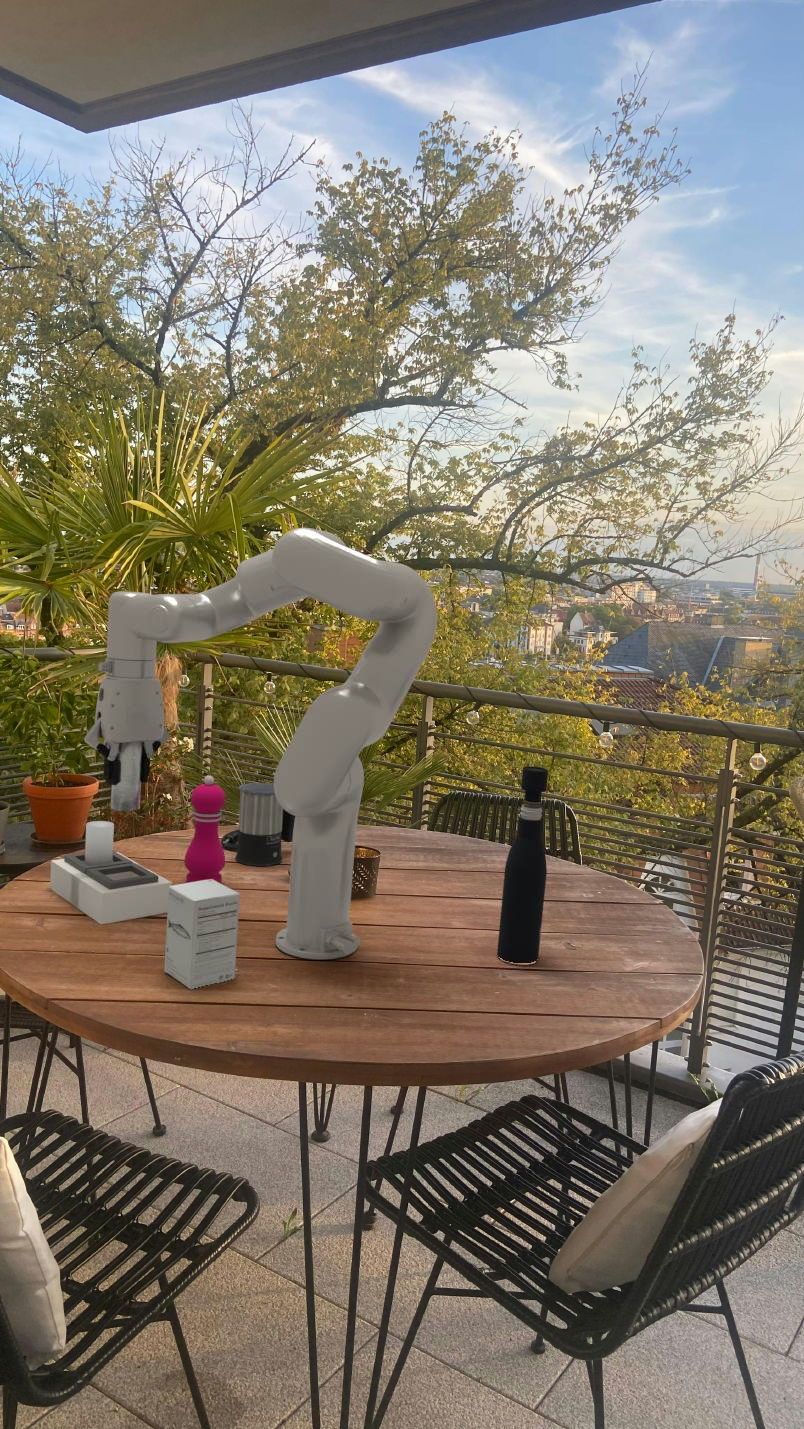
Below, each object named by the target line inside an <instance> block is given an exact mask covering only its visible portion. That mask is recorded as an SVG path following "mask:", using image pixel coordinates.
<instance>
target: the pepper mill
mask: <svg viewBox="0 0 804 1429" xmlns="http://www.w3.org/2000/svg"><path fill="white" fill-rule="evenodd" d="M214 783H215V779H214V777H213V776H212V775H207V776H205V777H204V779H203V784H200V785H198V786H196V787H195V788H194V789H193V790H192V793H191V796H190V803H191V805H192V807H194V810H193V812H192V813H193V816H192V819H193V820H194V821H195V822H194V824H195V828H194V835H193V838H192V840H191V842H190V844H189V846H188V848H187V850H186V852H185V856H184V860H183V862H184V863H183V864H184V866H185V868H186V869H187V870H188V873H187V874H186V880H185V883H190V882H196V881H202V880H209V879H213V880H215V881H217V882H219V883H220V884H222V882H223V881H222V879H223V875H222V874H221V873H220V872H221V871H222V870H223V869H224V867H225V865H226V855H225V854H226V853H225V851H224V847H223V846H222V844H221V839H220V837H219V836H220V835H219V822H220V821H221V820H222V814H223V812H222V811H220V810H221V809H222V808H223V807H224V805H225V803H226V793H225V791H224V790H223V789H222V787H220V786H219V785H217V784H214Z"/></svg>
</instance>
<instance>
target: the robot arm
mask: <svg viewBox="0 0 804 1429" xmlns="http://www.w3.org/2000/svg"><path fill="white" fill-rule="evenodd" d="M235 572H236V573H235V576H233V577H232V578H231V579H229V580H228V581H226V582H224V583H221V584H219V585H218V586H214V587H212V588H209V589H207V590H204V591H202V592H198V593H195V594H187V593H162V594H152V593H148V592H140V591H139V592H137V591H121V590H120V591H115V592H113V593H111V595H110V596H109V600H108V611H107V614H108V615H107V616H108V618H107V641H106V642H107V644H106V645H107V646H106V658H105V660H104V662H99V663H98V666H97V668H98V671H99V672H104V674H105V676H104V677H101V678H102V679H101V681H100V684H99V689H98V695H97V699H96V700H97V701H96V707H95V708H96V709H95V718H94V724H93V725H92V727H91V728H90V729H89V730H88V732H87V733H86V735H85V736H84V739H83V740H84V743H86V744H88V745H89V746H90V747H92V748H93V749H95V751H96V752H97V753H98V754H100V756H101V758H103V779H104V780H105V783H106V784H109V785H111V786H112V785H117V784H118V771H119V762H118V761H117V760H116V755H117V751H118V747H119V743H126V742H142V767H141V783H143V784H147V783H148V782H149V779H148V778H149V777H150V773H151V759H152V758H154V755H155V753H156V752H157V751H158V750H159V749H160V748H161V746H162V745H164V744H165V743H166V742H168V740H170V739H171V735H170V733H169V731H168V730H167V727H166V726H165V711H164V710H165V709H164V708H165V707H164V697H163V690H162V684H161V680H160V679H158V678H156V667H157V666H156V664H157V663H156V662H157V642H158V643H163V644H175V643H177V644H178V643H179V644H180V643H188V642H200V641H205V640H207V639H211V638H213V637H217V636H219V635H222V634H224V633H227V632H229V631H232V630H235V629H238V628H240V627H242V626H245V625H247V624H248V623H251V622H253V621H254V620H257V619H259V618H260V617H262V616H263V615H265V614H269V613H270V612H273V611H275V610H277V609H280V608H283V607H286V606H287V605H291V604H293V603H296V602H298V601H301V600H303V599H307V598H309V597H310V598H313V599H315V601H319V602H321V603H322V604H324V605H325V604H326V605H328V606H330V607H332V608H334V609H336V610H339V611H341V612H343V613H345V614H347V615H348V616H349V615H350V616H352V617H354V618H357V619H360V620H362V621H366V622H379V625H378V628H377V631H376V632H375V634H374V635H373V637H372V638H371V639H370V641H369V642H368V643H367V644H366V647H365V648H364V650H362V653H361V656H360V657H359V659H358V661H357V663H356V665H355V667H354V668H353V670H352V672H351V674H350V675H349V677H348V678H347V680H345V682H344V683H343V684H340V685H336V686H333V687H331V688H328V689H326V690H325V691H323V692H322V693H321V694H320V695H318V696H317V697H316V698H315V700H314V701H313V702H312V703H311V705H310V706H309V707H308V709H307V711H306V712H305V713H304V715H303V718H302V720H301V721H300V723H299V725H298V727H297V729H296V730H295V732H294V734H293V736H292V738H291V740H290V742H289V744H288V745H287V748H285V751H284V753H283V754H282V756H281V759H280V761H279V763H278V764H277V767H276V769H275V773H274V777H273V784H274V792H275V796H276V798H277V801H278V802H279V804H280V805H281V807H282V808H283V809H284V810H286V811H287V812H288V813H290V814H292V815H294V816H295V822H294V829H293V841H291V842H292V844H291V853H290V854H291V857H290V871H289V872H290V874H289V885H288V888H289V889H288V899H287V900H288V901H287V917H286V918H287V919H286V927H285V928H282V929H281V930H279V931H278V932H277V934H276V935H275V945H276V947H277V948H278V949H279V950H280V951H282V952H283V953H285V954H287V955H290V956H293V957H296V958H301V959H307V960H319V961H320V960H321V961H322V960H323V961H325V960H334V959H340V958H344V957H347V956H349V955H351V954H352V953H354V952H356V950H357V949H358V947H359V946H360V945H361V939H360V938H359V937H357V936H356V935H355V934H354V933H353V923H352V922H351V921H350V915H351V914H350V913H351V901H352V900H351V899H352V888H353V887H352V886H353V872H354V860H355V850H356V837H357V836H356V835H357V826H358V825H357V824H358V818H359V812H360V805H361V800H362V797H363V796H362V795H363V792H364V791H363V788H364V783H365V782H364V781H365V778H364V777H365V774H364V772H365V771H364V767H363V764H362V761H361V759H360V757H359V755H360V753H361V752H362V750H363V749H364V748H366V747H368V746H370V745H373V744H375V743H377V741H379V740H380V739H381V738H382V737H384V736H385V735H386V733H387V731H388V730H389V728H390V725H391V723H392V721H393V719H394V718H395V716H396V714H397V712H398V710H399V709H400V707H401V704H402V702H403V701H404V699H405V698H406V696H407V694H408V692H409V690H410V688H411V686H412V685H413V682H414V680H415V679H416V676H417V675H418V673H419V671H420V670H421V668H422V665H423V664H424V662H425V660H426V658H427V656H428V654H429V652H430V650H431V647H432V646H433V642H434V640H435V637H436V633H437V626H438V613H437V612H438V610H437V605H436V601H435V600H436V599H435V598H434V595H433V593H432V591H431V589H430V587H429V584H427V582H426V581H425V579H424V578H423V577H422V576H421V575H420V574H419V573H418V572H417V571H416V570H414V569H413V568H411V567H409V566H408V565H406V564H402V563H399V562H396V561H388V560H387V561H386V560H381V559H380V560H379V559H376V558H374V557H371V556H369V555H367V554H365V553H363V552H360V551H358V550H356V549H352V548H350V547H348V546H347V545H346V543H345V542H344V541H343V540H342V539H341V538H340V537H339V536H338V535H336V534H334V533H332V532H328V531H324V530H319V529H316V528H310V527H298V528H294V529H291V530H289V531H287V532H286V533H284V534H283V535H281V537H280V538H279V539H278V541H276V543H275V545H274V547H273V548H272V549H269V550H267V551H265V552H262V553H259V554H256V555H255V556H253V557H250V558H248V559H247V558H246V559H245V560H242V561H241V562H240V563H239V564H238V566H237V569H236V571H235ZM98 738H100V739H102V740H103V739H104V742H103V743H102V742H101V741H99V739H98Z"/></svg>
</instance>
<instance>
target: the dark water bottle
mask: <svg viewBox="0 0 804 1429" xmlns="http://www.w3.org/2000/svg"><path fill="white" fill-rule="evenodd" d="M521 772H522V774H521V782H520V783H521V785H520V789H521V790H522V791H524V799H523V803H524V804H522V805H521V807H520V810H521V811H520V815H519V817H518V818H517V828H516V836H515V838H514V840H513V842H512V844H511V847H510V849H509V851H508V854H507V857H506V858H507V859H506V861H505V865H504V876H503V877H504V878H503V887H502V897H501V908H500V917H499V918H500V920H499V929H498V940H497V950H496V951H497V952H496V956H497V955H498V957H500V958H502V959H503V960H505V961H509V962H513V963H531V962H534V961H537V959H538V960H539V954H540V944H541V934H542V924H543V922H542V921H543V914H544V913H543V912H544V905H545V904H544V903H545V894H546V893H545V892H546V883H547V872H548V869H547V858H546V857H547V856H546V852H545V847H544V842H543V839H542V833H543V827H544V826H543V825H544V824H543V823H544V820H543V818H542V816H543V814H542V812H544V811H543V809H542V808H543V807H542V806H541V804H542V801H541V800H542V793H546V792H547V787H548V786H547V785H548V778H549V777H548V776H549V769H547V768H545V767H541V766H532V765H531V766H524V767H522V771H521ZM498 957H497V958H498ZM537 962H538V961H537Z"/></svg>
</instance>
